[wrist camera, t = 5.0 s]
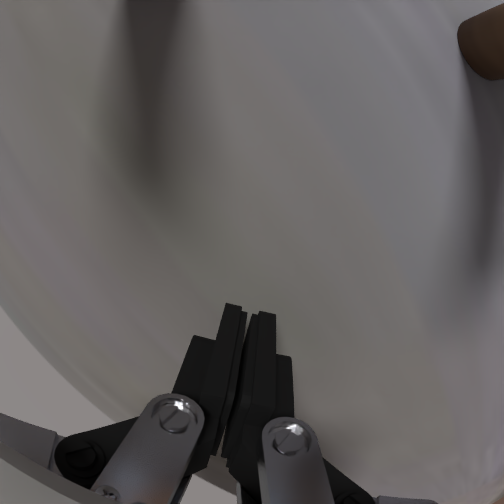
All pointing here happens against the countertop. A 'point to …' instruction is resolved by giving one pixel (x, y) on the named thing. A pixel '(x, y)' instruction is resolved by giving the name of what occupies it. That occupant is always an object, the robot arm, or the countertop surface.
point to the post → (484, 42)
